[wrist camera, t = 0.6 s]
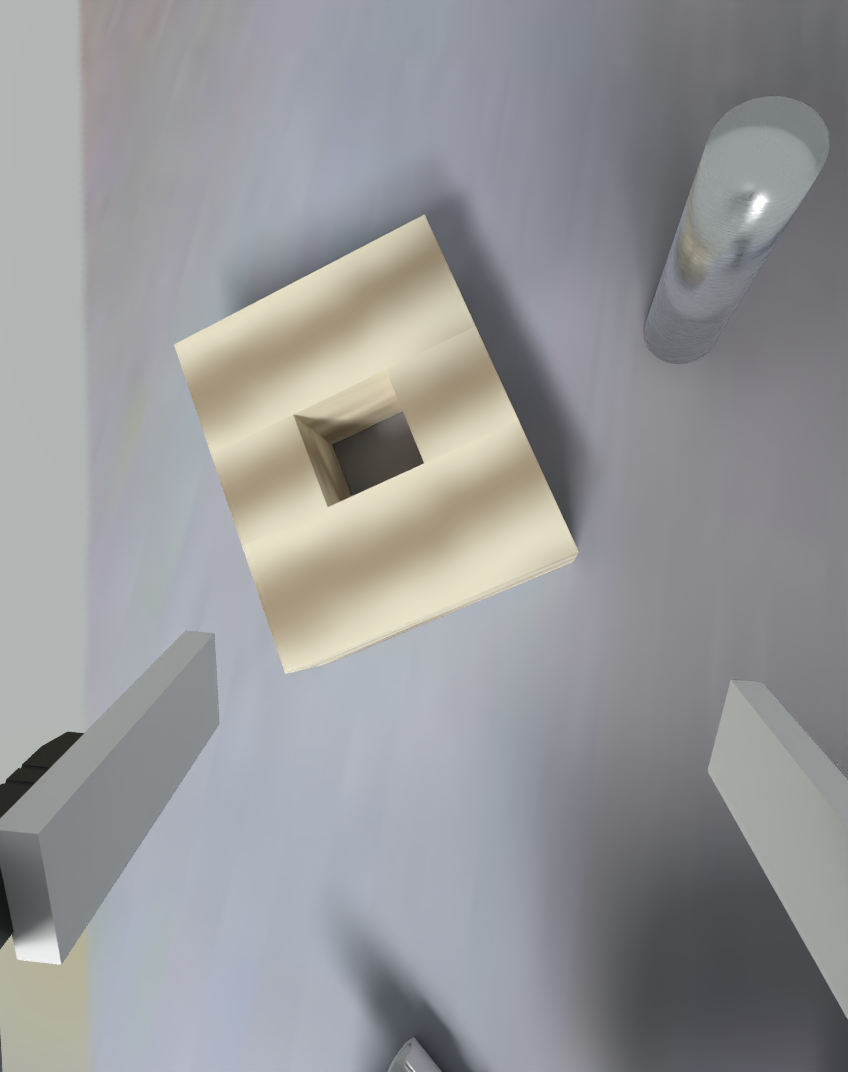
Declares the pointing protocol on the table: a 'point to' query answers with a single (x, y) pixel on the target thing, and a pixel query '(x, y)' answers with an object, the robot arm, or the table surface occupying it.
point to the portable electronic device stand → (413, 1059)
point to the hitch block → (347, 408)
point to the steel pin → (733, 219)
